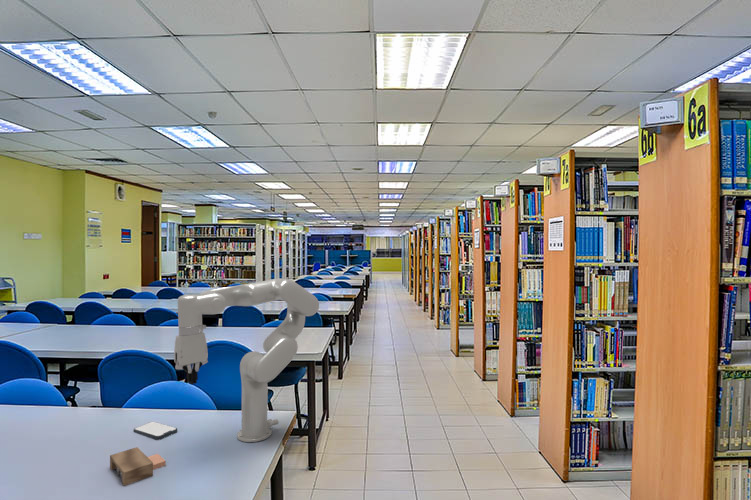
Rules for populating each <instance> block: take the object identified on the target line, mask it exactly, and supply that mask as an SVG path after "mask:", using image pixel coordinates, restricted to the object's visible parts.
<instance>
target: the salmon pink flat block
mask: <svg viewBox="0 0 751 500" xmlns="http://www.w3.org/2000/svg"><path fill="white" fill-rule="evenodd" d="M147 457H148V458H149V459H150V460H151V461H152V462H153V471H154V470H157V469H159V468H162V467H166V464H167V463H166V460H165V459H164V458H163V457H162V456H161V455H160V454H159V453H156V454H152V455H150V456H147Z"/></svg>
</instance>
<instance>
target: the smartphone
mask: <svg viewBox="0 0 751 500" xmlns="http://www.w3.org/2000/svg"><path fill="white" fill-rule="evenodd" d="M133 433H134V434H135V433H136V434H138V435H141V436H144V437H147V438H150V439H153V440H158V441H159V439H160V440H162V439H164V437H165V438H167V437H170V436H171V434H172V435H174V434H176V433H178V428H177V427H174V426H171V425H168V424H164V423H163V424H162V423H159V422H156V421H151V422H147V423H146V424H142V425H140V426H138V427H137V426H136V427H135V428H134V429H133ZM169 435H170V436H169Z"/></svg>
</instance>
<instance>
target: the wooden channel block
mask: <svg viewBox="0 0 751 500" xmlns="http://www.w3.org/2000/svg"><path fill="white" fill-rule="evenodd" d="M148 457H149V456H147V454H145V453H144V452H143V451H142V450H141V449H140V448H139V447H133V448H130V449H126V450H123V451H119V452H117V453H114V454H110V455H109V469H110V470H111V471H113V470H116V471H115V472H116V473H117V474H118V475H120V478H121V484H122V485H123V486H124V487H125V486H128V485H130V484H134V483H136V482H140V481H141V480H145V479H148V478H150V477H153V476H154V470H153V462H152V461H151V460H150V459H149V458H148Z"/></svg>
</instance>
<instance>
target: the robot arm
mask: <svg viewBox="0 0 751 500" xmlns="http://www.w3.org/2000/svg"><path fill="white" fill-rule="evenodd" d="M275 301H283V302H285V303H286V310H287V312H286V316H285V318H284V320H282V322H281V323H280V324H279V325H278V326H277V327H276V328H275V329H274V330H273V331H272V332H271V333H270V334H269V335H268V336H267V337H266V338H264V341H263V344H262V348H263V350H264V352H265V353H262V352H259V351H249V352H247V353H245V354H244V356H242V358H241V360H240V362H239V363H240V364H239V373H240V379H241V381H240V382H241V429H240V430H239V431H237V434H236V438H237V439H238V440H239V441H240V442H243V443H255V442H256V443H257V442H261V441H264V440H266V439H268V438H269V437H271V435H272V429H271V428H272V427H273V426H276V425H278V424H279V419H277V418H276V419H273V420H272V418H270V419H268V395H269V394H268V393H269V392H268V391H269V389H268V387H269V386H268V383H270V382H272V381H273V380H274V379H275V378H277V376H278V375H280V373H281V372H282V371H283V370H284V369H285V368H286V367H287V366H288V364H290V362H291V361H293V359H294V358H295V357H296V355H297V352H298V348H299V347H298V342H297V340H296V339H297V338H298V336H299V335H301V333H302V332H303V329H304V327H305V323H306V317H312V316H314V315H315V314H316V313H317V312H318V311H319V308H320V302H319V300H318V298H317V297H316V296H315V295H314V294H312V293H311V292H309V291H308V290H307V289H305V288H304V287H303V286H302V285H300V284H298V283H297V282H295V281H294V280H291V279H288V278H279V277H278V278H273V279H268V280H267V279H266V280H262V281H255V282H250V283H245V284H239V285H234V286H233V285H232V286H227V287H225V286H224V287H220V288H213V289H208V290H204V291H202V292H200V293H199V294H193V293H192V294H183V295H180V296H179V297H178V298H177V315H178V316H177V320H178V322H177V323H178V334H177V335H176V336H175V341H174V352H173V353H174V355H173V359H174V360H173V361H174V363H175V366H174V367H175V370H184V372H186V381H187V382H188V383H189V385H195V384H197V381H198V372H199V371H200V368H202V366H204V365H205V364H207V363H209V361H208V358H209V357H208V355H209V353H208V342H207V338H206V334H205V332H204V330H205V329H207V325H206V324H203V315H218V314H220V313H222V312H224V310H225V309H226V307H253V306H254V307H255V306H257V305H261V304H266V303H270V302H275Z"/></svg>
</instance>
